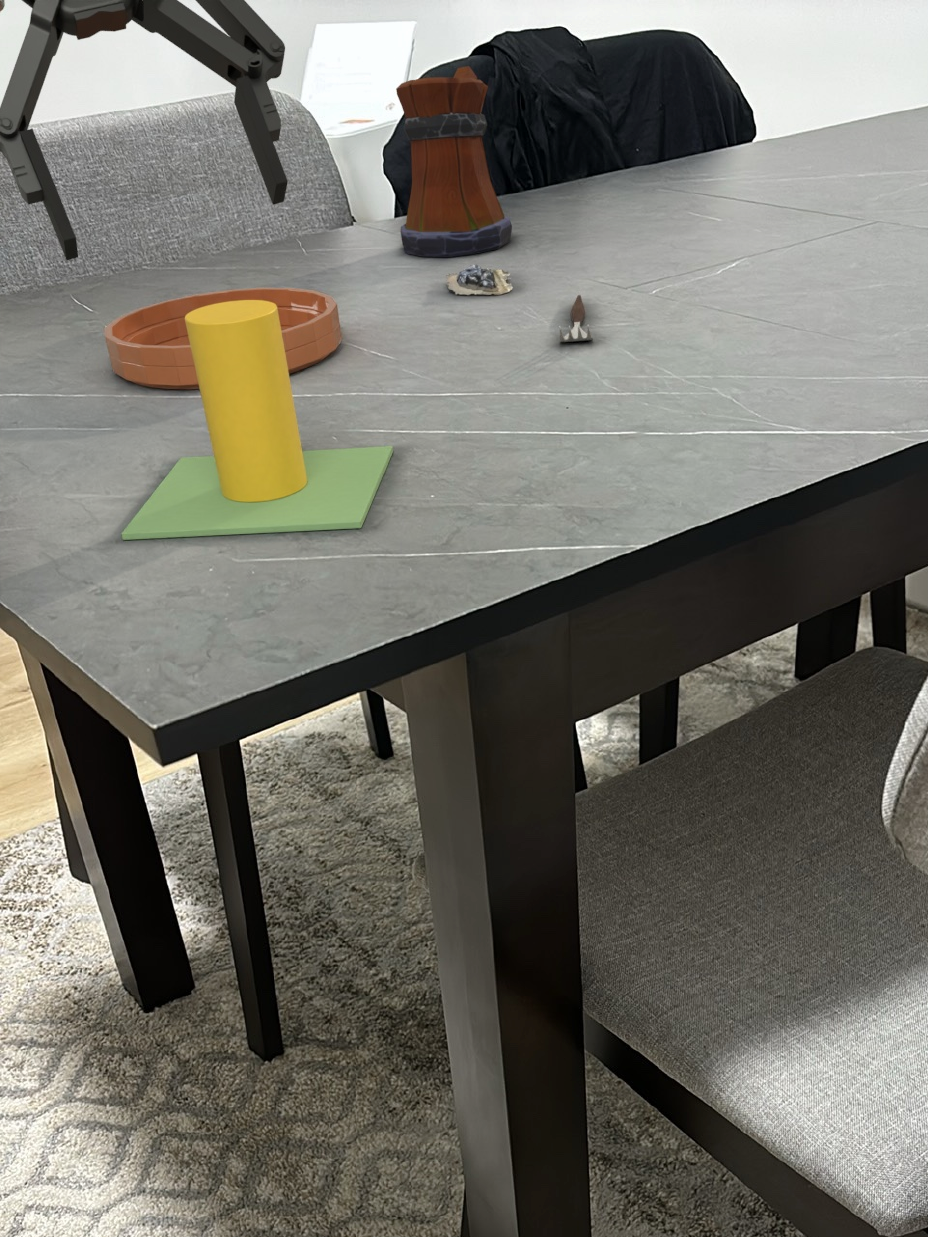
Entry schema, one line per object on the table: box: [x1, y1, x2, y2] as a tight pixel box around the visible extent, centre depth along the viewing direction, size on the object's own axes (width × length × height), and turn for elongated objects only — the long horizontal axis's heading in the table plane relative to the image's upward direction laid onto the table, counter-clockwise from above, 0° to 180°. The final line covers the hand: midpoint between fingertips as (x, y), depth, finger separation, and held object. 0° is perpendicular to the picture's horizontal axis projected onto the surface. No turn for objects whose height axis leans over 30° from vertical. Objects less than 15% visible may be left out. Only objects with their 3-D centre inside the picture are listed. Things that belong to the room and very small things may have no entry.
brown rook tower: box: [395, 66, 513, 258], centre depth 134 cm, size 18×12×15 cm, turn 171°
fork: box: [558, 294, 594, 343], centre depth 107 cm, size 3×16×2 cm, turn 177°
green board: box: [121, 445, 394, 541], centre depth 81 cm, size 14×13×1 cm
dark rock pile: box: [445, 263, 514, 296], centre depth 120 cm, size 7×8×2 cm
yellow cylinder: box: [185, 300, 307, 502], centre depth 78 cm, size 5×5×10 cm
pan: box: [104, 287, 343, 390], centre depth 107 cm, size 18×18×3 cm
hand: (178, 221), depth 83 cm, fingers open, 13 cm apart
